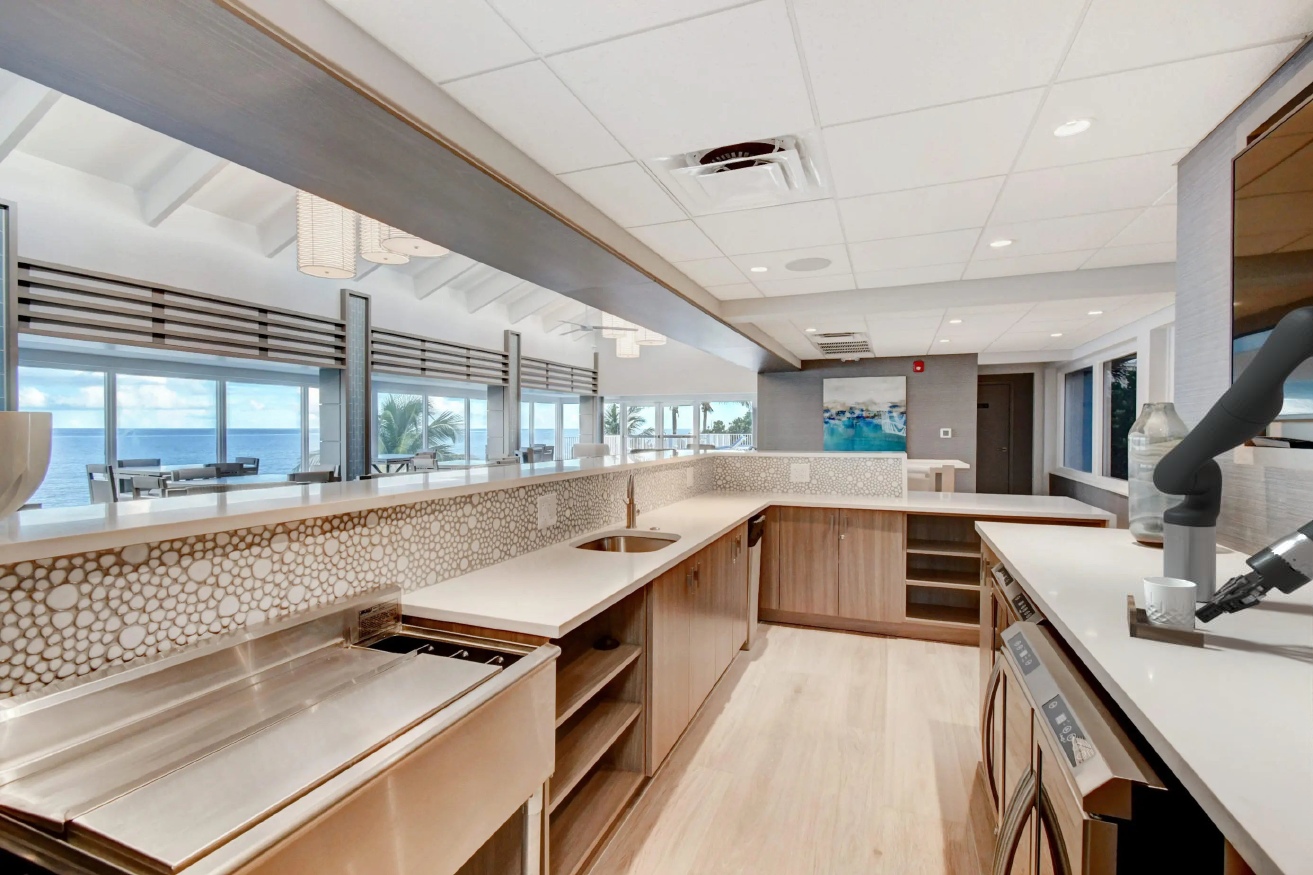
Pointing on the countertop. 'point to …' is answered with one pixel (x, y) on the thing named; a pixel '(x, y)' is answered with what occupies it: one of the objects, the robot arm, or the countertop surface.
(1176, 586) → the white cup
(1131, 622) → the walnut bay
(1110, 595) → the countertop surface
